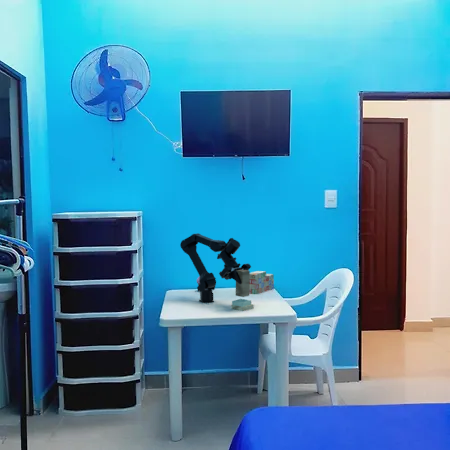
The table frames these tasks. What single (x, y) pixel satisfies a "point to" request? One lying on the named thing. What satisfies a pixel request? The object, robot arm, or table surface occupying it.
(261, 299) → the table surface
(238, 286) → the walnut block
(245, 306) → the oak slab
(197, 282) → the cupcake
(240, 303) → the green slab
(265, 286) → the stack of blocks
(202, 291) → the robot arm
